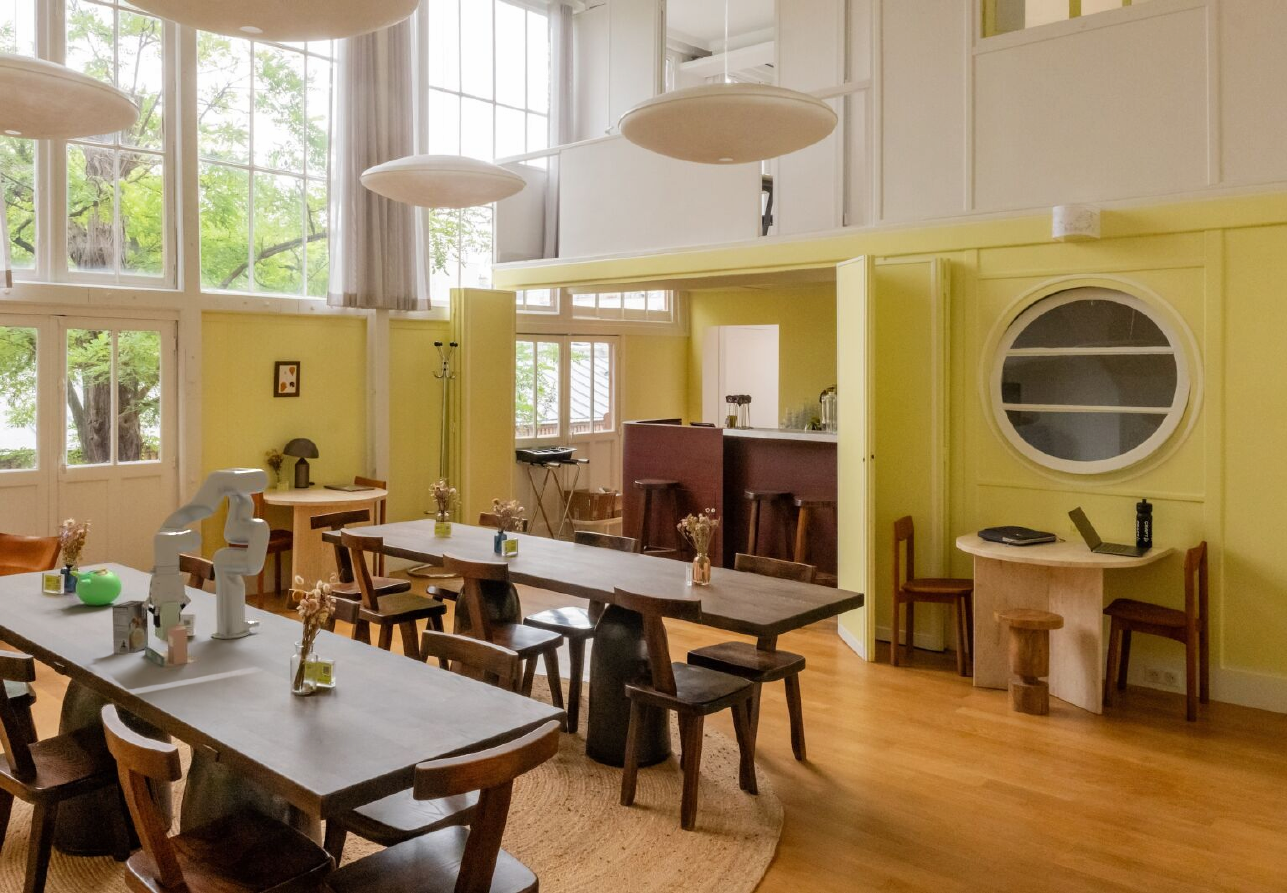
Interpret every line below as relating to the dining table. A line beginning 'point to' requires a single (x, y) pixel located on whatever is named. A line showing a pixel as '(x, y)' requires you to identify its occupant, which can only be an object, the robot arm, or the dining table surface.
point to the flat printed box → (163, 657)
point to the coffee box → (130, 627)
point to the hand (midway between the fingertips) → (166, 625)
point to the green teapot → (97, 586)
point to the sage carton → (167, 619)
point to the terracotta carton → (177, 645)
